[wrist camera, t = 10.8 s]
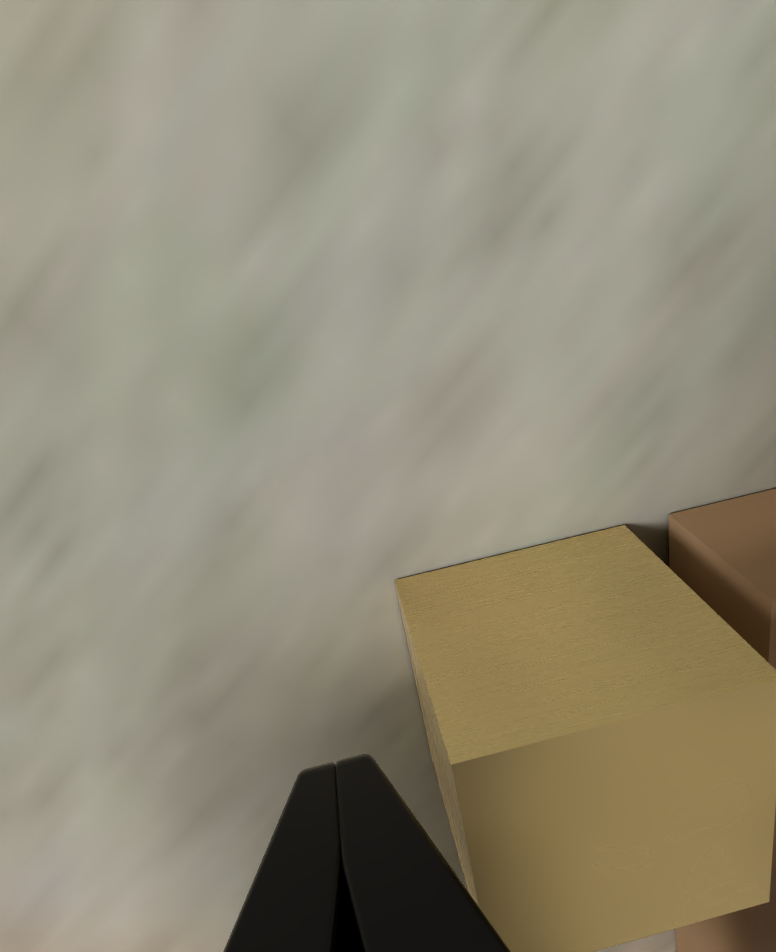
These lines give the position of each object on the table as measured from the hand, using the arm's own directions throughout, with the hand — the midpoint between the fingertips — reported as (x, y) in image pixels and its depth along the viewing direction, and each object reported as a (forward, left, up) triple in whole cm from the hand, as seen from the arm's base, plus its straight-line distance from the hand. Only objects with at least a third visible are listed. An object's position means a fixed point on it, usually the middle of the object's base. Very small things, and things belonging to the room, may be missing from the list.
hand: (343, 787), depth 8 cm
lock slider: (0, -3, -2) cm, 3 cm away
